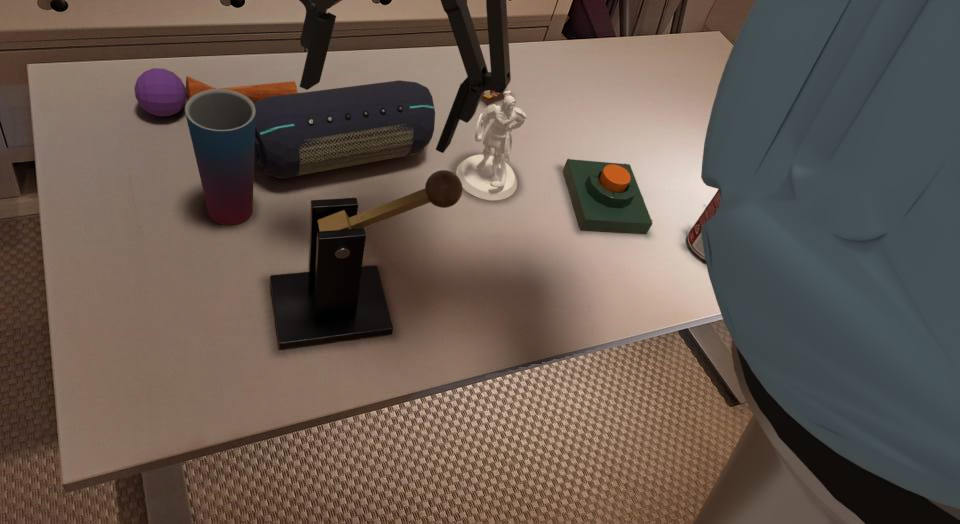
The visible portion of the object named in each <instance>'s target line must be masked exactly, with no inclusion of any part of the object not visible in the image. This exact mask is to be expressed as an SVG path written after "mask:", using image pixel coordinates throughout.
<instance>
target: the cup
mask: <svg viewBox="0 0 960 524" xmlns="http://www.w3.org/2000/svg"><path fill="white" fill-rule="evenodd" d="M253 103H254V101H251V100H250V99H249V98H248V97H246V96H245V95H243V94H241V93H238V92H236V91H232V90H226V89H219V88H216V89H211V90H206V91H202V92H199V93H197V94H195V95H194V96H192V97H191V98H190V99H189V100H188V101H187V100H186V102H185V104H184V114H185V117H186V122H187V128H188V131H189V135H190V140H191V144H192V148H193V153H194V157H195V161H196V165H197V169H198V174H199V179H200V183H201V188H202V192H203V196H204V199H205V204H206V208H207V213H208V216H209V217H210V219H212V221H214V222H215V223H218V224H220V225H224V226H225V225H226V226H234V225H235V226H236V225H239V224H243V223H244V222H246V221H248V220H249V219H250V217H251V216H252V214H253V209H254V177H255V162H254V150H255V118H256V109H255V106H254V104H253Z"/></svg>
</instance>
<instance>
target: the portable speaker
mask: <svg viewBox="0 0 960 524" xmlns="http://www.w3.org/2000/svg"><path fill="white" fill-rule="evenodd" d="M253 104H254V106H255V109H256V118H255V150H254V163H256V165H257V166H258V168H260V170H261V171H262V172H263V173H264V174H265V175H267V176H270V177H274V178H278V179H287V178H294V177H297V176H305V175H308V174H315V173H319V172H326V171H331V170H337V169H341V168H346V167H347V168H348V167H352V166H358V165H363V164H369V163H374V162H375V163H376V162H380V161H384V160H389V159H396V158H400V157H408V156H413V155H416V154H419V153H420V152H421V151H422V150H424V149H425V148H426V147H427V146H428V145H429V143H430V142H431V140H432V138H433V136H434V132H435V122H436V108H435V103H434V99H433V96H432V93H431V91H430V89H429V88H428V87H427V86H425V85H423V84H422V83H419V82H416V81H408V80H393V81H384V82H376V83H375V82H374V83H368V84H367V83H366V84H360V85H359V84H358V85H353V86H345V87H336V88H329V89H328V88H327V89H321V90H320V89H319V90H312V91H304V92H297V93H296V94H288V95H280V96H272V97H268V98H265V99H262V100H259V101H253Z"/></svg>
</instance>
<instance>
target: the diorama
mask: <svg viewBox="0 0 960 524" xmlns="http://www.w3.org/2000/svg"><path fill="white" fill-rule="evenodd" d="M504 92H505V91H503V92H502V93H497V92H495V91H490V90H488V91H484V92H483V95H482V97H481V100H480V101H481V102H482V103H484V105H486V106H490V105H492V104H493V103H494V104H495V103H497V102H499V101H501V100H502V101H503V100H504V98H505V97H504V95H503V93H504Z"/></svg>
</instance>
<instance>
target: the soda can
mask: <svg viewBox="0 0 960 524" xmlns="http://www.w3.org/2000/svg"><path fill="white" fill-rule="evenodd" d="M720 199H721V190H720V189H717V191H716V193H715V194H714V195H713V196H712V198H711V200H710V201H709V202H708V204H707V205H706V207H705V208H704V210H703V211H702V213H701V214H700V216H699V217H698V219H697V220H696V222H695V223H694V225H693V226H692V228H691V229H690V230H689V232H688V234H687V241H688V245H689V247H690V248H691V250H692V251H693V252H694V253H695V254H696V255H697V256H699V258H701V259H703V260H705V254H704V248H703V241H702V234H701V229H702V226H703V224H704V223H706V222H707V221H708V220H709V219H710V218H711V217H713V216H714V214H715V213H716V211H717V209H718V207H719V205H720Z"/></svg>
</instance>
